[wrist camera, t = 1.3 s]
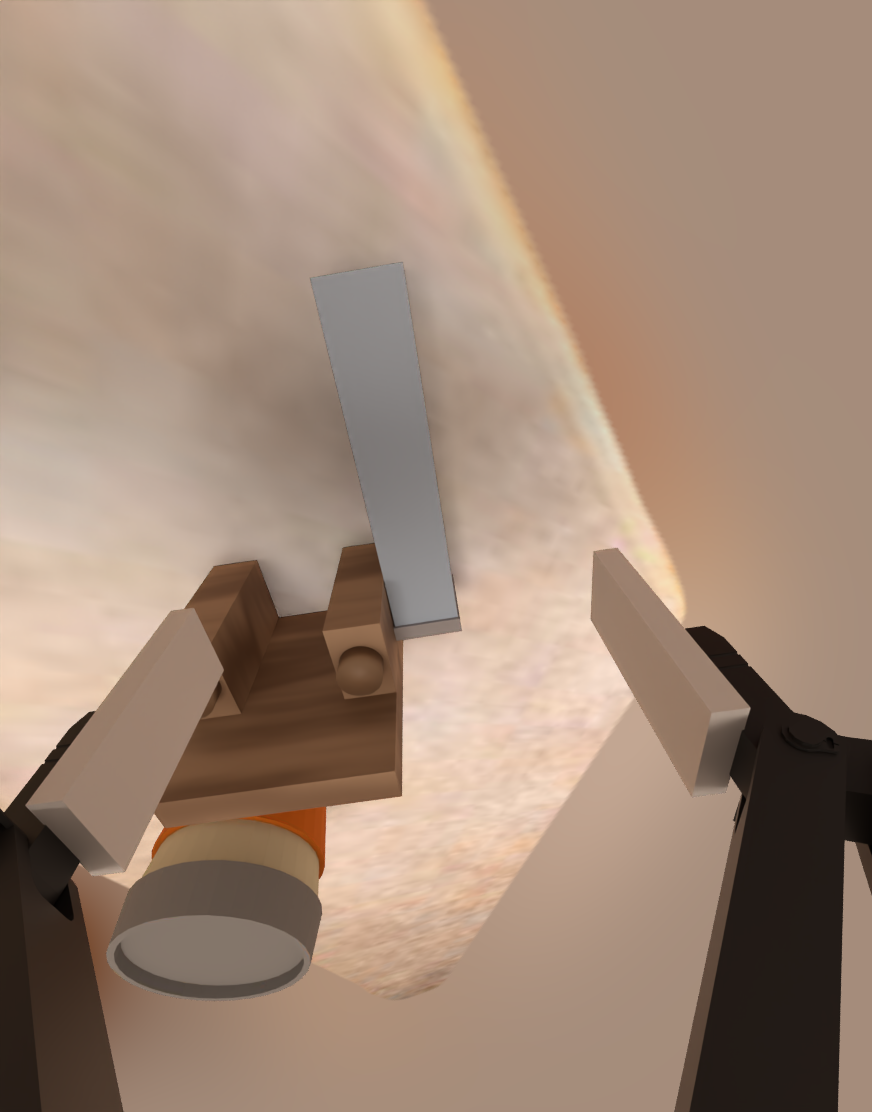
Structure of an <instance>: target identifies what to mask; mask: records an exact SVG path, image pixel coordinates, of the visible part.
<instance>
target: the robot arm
mask: <svg viewBox="0 0 872 1112" xmlns="http://www.w3.org/2000/svg"><path fill="white" fill-rule="evenodd" d="M591 621H592V622H593V624H594V626H595V628H596V629H597V631H598V633H599V635H600V636H601V638H602V640H603V642H604V644H605V645H606V647H607V649H608V651H609V652H610V654H611V656H612V658H613V659H614V661H615V663H616V665H617V666H618V668H619V670H620V672H621V673H622V675H623V677H624V679H625V681H626V682H627V684H628V686H629V688H630V689H631V691H632V693H633V695H634V696H635V698H636V700H637V702H638V703H639V705H640V707H641V709H642V710H643V712H644V714H645V716H646V717H647V719H648V721H649V723H650V725H651V726H652V728H653V730H654V732H655V733H656V735H657V737H658V739H659V740H660V742H661V744H662V746H663V747H664V749H665V751H666V753H667V754H668V756H669V758H670V760H671V762H672V763H673V765H674V767H675V769H676V770H677V772H678V774H679V776H680V777H681V779H682V781H683V783H684V784H685V786H686V788H687V790H688V791H689V793H690V795H691V797H699V796H706V795H714V794H722V793H726V790H727V787H728V783H729V780H730V776H731V777H732V779H733V781H734V782H735V783H736V785H737V786H738V788H739V789H740V791H741V792H742V795H741V798H740V801H739V804H738V807H737V810H736V813H735V817H734V821H735V825H734V830H733V835H732V839H731V844H730V849H729V853H728V858H727V863H726V868H725V872H724V877H723V882H722V887H721V892H720V896H719V901H718V906H717V911H716V915H715V920H714V925H713V930H712V934H711V940H710V944H709V949H708V954H707V958H706V963H705V968H704V973H703V977H702V982H701V987H700V992H699V996H698V1002H697V1006H696V1011H695V1016H694V1020H693V1026H692V1031H691V1035H690V1039H689V1044H688V1049H687V1054H686V1058H685V1063H684V1068H683V1073H682V1078H681V1082H680V1087H679V1092H678V1097H677V1101H676V1106H675V1111H674V1112H838V1083H839V1080H838V1078H839V1042H840V1003H841V1001H840V1000H841V961H842V922H843V883H844V879H843V878H844V842H845V840H847V841H852V842H855V843H856V846H857V849H858V852H859V856H860V859H861V862H862V865H863V869H864V872H865V875H866V878H867V881H868V884H869V888H870V891H871V894H872V740H866V739H858V738H850V737H845V736H840V735H837V734H836V733H835V731H833V730H832V729H831V728H829V727H828V726H826V725H825V724H823V723H822V722H820V721H818V720H816V719H814V718H811V717H809V716H807V715H802V714H798V713H794V712H793V711H792V710H790V708H789V707H788V706H787V705H786V704H785V703H784V702H783V701H782V700H781V699H780V697H779V696H778V695H777V694H776V693H775V692H774V691H773V690H772V689H771V688H770V687H769V686H768V684H767V683H766V682H765V681H764V680H763V679H762V678H761V677H760V676H759V675H758V674H757V673H756V672H755V671H754V669H753V668H752V667H749V666H748V663H747V662H746V661H745V660H744V659H743V658H742V656H741V655H738V654H737V651H736V650H735V649H734V648H733V647H732V646H731V645H730V644H729V643H728V641H727V640H726V639H725V638H724V637H722V636H720V635H719V634H717V633H716V632H714V631H712V630H711V629H709V628H707V627H705V626H700V627H694V628H686V629H684V627H683V626H682V625H681V624H680V623H679V621H678V620H677V619H676V618H675V617H674V615H673V614H672V613H671V612H670V611H669V609H668V608H667V607H666V606H665V605H664V603H663V602H662V601H661V600H660V599H659V597H658V596H657V595H656V594H655V593H654V591H653V590H652V589H651V588H650V587H649V585H648V584H647V583H646V582H645V581H644V579H643V578H642V577H641V576H640V575H639V573H638V572H637V571H636V570H635V569H634V567H633V566H632V565H631V564H630V563H629V561H628V560H627V559H626V558H625V557H624V555H623V554H622V553H621V552H620V551H619V549H618V548H613V549H606V550H599V551H594V552H593V576H592V599H591ZM223 671H224V669H223V667H222V665H221V663H220V661H219V659H218V657H217V655H216V653H215V650H214V648H213V646H212V644H211V642H210V640H209V638H208V636H207V634H206V632H205V630H204V628H203V626H202V624H201V621H200V619H199V617H198V615H197V613H196V611H195V609H194V608H189V609H181V610H174V611H171V612H170V613H169V614H168V616H167V617H166V618H165V620H164V621H163V622H162V624H161V625H160V626H159V628H158V629H157V630H156V632H155V633H154V634H153V636H152V637H151V638H150V640H149V641H148V642H147V644H146V645H145V646H144V648H143V649H142V650H141V652H140V653H139V654H138V656H137V657H136V658H135V660H134V661H133V662H132V664H131V665H130V666H129V668H128V669H127V670H126V672H125V673H124V674H123V676H122V677H121V678H120V680H119V681H118V682H117V684H116V685H115V686H114V688H113V689H112V690H111V692H110V693H109V694H108V696H107V697H106V698H105V700H104V701H103V702H102V704H101V705H100V706H99V708H98V709H97V710H96V711H93V712H89V713H87V714H86V715H85V716H84V717H83V718H81V719H80V720H79V721H78V722H77V723H76V724H74V725H73V726H72V727H71V728H70V729H69V730H68V731H67V733H66V734H65V735H64V736H63V738H62V739H61V740H60V742H59V743H58V744H57V745H56V749H53V751H52V752H51V753H50V754H49V756H48V757H47V758H46V760H45V764H42V765H41V766H40V767H39V769H38V770H37V771H36V772H35V774H34V775H33V776H32V778H31V779H30V780H29V781H28V783H27V784H26V785H25V786H24V788H23V789H22V790H21V792H20V793H19V794H18V795H17V797H16V798H15V799H14V801H13V802H12V803H11V804H10V806H9V807H8V808H7V810H6V811H5V812H3V811H2V810H1V809H0V1112H123V1108H122V1103H121V1098H120V1093H119V1088H118V1083H117V1078H116V1073H115V1069H114V1064H113V1059H112V1054H111V1049H110V1044H109V1039H108V1034H107V1030H106V1025H105V1020H104V1015H103V1010H102V1005H101V1000H100V996H99V991H98V986H97V981H96V976H95V971H94V966H93V962H92V957H91V952H90V947H89V942H88V937H87V932H86V927H85V923H84V918H83V913H82V908H81V903H80V898H79V893H78V888H77V886H76V885H75V883H74V882H73V881H72V880H71V879H70V878H71V876H72V875H73V873H74V871H75V870H76V868H77V866H78V864H79V863H81V865H82V866H83V867H84V868H85V869H86V870H87V871H88V872H89V873H90V874H91V875H92V876H98V875H106V874H114V873H121V872H125V871H126V869H127V867H128V865H129V863H130V861H131V859H132V857H133V855H134V853H135V851H136V849H137V847H138V845H139V843H140V840H141V838H142V836H143V834H144V832H145V830H146V828H147V826H148V824H149V822H150V820H151V818H152V816H153V814H154V812H155V810H156V808H157V806H158V804H159V802H160V800H161V798H162V796H163V793H164V791H165V789H166V787H167V785H168V783H169V781H170V779H171V777H172V775H173V773H174V771H175V769H176V767H177V765H178V763H179V761H180V759H181V757H182V755H183V753H184V751H185V749H186V747H187V744H188V742H189V740H190V738H191V736H192V734H193V732H194V730H195V728H196V726H197V724H198V722H199V720H200V718H201V716H202V714H203V712H204V710H205V708H206V706H207V704H208V702H209V700H210V698H211V695H212V693H213V691H214V689H215V687H216V685H217V683H218V681H219V679H220V677H221V675H222V673H223Z"/></svg>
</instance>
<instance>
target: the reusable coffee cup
mask: <svg viewBox="0 0 872 1112" xmlns="http://www.w3.org/2000/svg"><path fill="white" fill-rule="evenodd" d="M325 834H326V807H319V808H311V809H304V810H297V811H289V812H282V813H274V814H267V815H260V816H252V817H245V818H238V819H230V820H223V821H215V822H208V823H201V824H193V825H186V826H178V827H171V828H165V827H164V829H163V830H162V832H161V834H160V835H159V837H158V839H157V840H156V842H155V844H154V847H153V849H152V861H151V863H150V864H149V866H148V868H147V870H146V871H145V873H144V875H143V877H142V878H141V879H139V880H138V881H136V883H135V884H134V885H133V886H132V887H131V888H130V889H129V891H128V894H127V897H126V899H125V902H124V905H123V908H122V910H121V913H120V916H119V919H118V921H117V924H116V927H115V930H114V933H113V936H112V938H111V941H110V944H109V947H108V949H107V953H106V954H107V962H108V963H109V965H110V967H111V969H112V970H113V971H114V972H115V973H117V974H118V975H119V976H120V977H121V978H122V979H124V980H126V981H127V982H129V983H131V984H132V985H135V986H137V987H140V988H142V989H145V990H147V991H151V992H154V993H157V994H161V995H165V996H171V997H176V998H181V999H190V1000H202V1001H227V1000H240V999H248V998H254V997H259V996H264V995H268V994H271V993H274V992H277V991H281V990H283V989H285V988H287V987H289V986H291V985H293V984H295V983H296V982H297V981H299V980H300V979H301V978H302V977H303V976H304V975H305V974H306V973H307V971H308V969H309V966H310V964H311V960H312V955H313V951H314V946H315V942H316V938H317V933H318V929H319V924H320V920H321V916H322V906H321V903H320V900H319V898H318V883H319V879H320V877H321V876H322V874H323V871H324V868H325Z"/></svg>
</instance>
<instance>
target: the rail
mask: <svg viewBox="0 0 872 1112" xmlns="http://www.w3.org/2000/svg"><path fill="white" fill-rule="evenodd" d="M310 280H311V284H312V288H313V293H314V297H315V301H316V305H317V309H318V313H319V317H320V321H321V325H322V329H323V333H324V338H325V342H326V346H327V350H328V354H329V358H330V362H331V366H332V370H333V374H334V378H335V383H336V387H337V391H338V395H339V399H340V403H341V407H342V411H343V415H344V419H345V423H346V428H347V432H348V436H349V440H350V444H351V448H352V452H353V456H354V460H355V464H356V468H357V473H358V477H359V481H360V485H361V489H362V493H363V497H364V501H365V505H366V509H367V513H368V518H369V522H370V526H371V530H372V534H373V538H374V542H375V546H376V550H377V554H378V558H379V563H380V567H381V571H382V575H383V579H384V583H385V587H386V591H387V595H388V599H389V603H390V608H391V612H392V616H393V620H394V633H395V637H396V641H399V640H406V639H412V638H419V637H426V636H432V635H439V634H445V633H452V632H458V631H462V629H461V622H460V616H459V610H458V604H457V598H456V592H455V586H454V580H453V574H452V575H451V569H450V562H449V556H448V549H447V543H446V537H445V530H444V524H443V517H442V511H441V504H440V498H439V492H438V485H437V479H436V472H435V466H434V459H433V453H432V447H431V440H430V434H429V427H428V421H427V414H426V408H425V402H424V395H423V389H422V382H421V376H420V370H419V363H418V357H417V350H416V344H415V337H414V331H413V325H412V318H411V312H410V305H409V299H408V292H407V286H406V280H405V273H404V267H403V262H399V263H393V264H388V265H382V266H376V267H370V268H364V269H359V270H353V271H347V272H341V273H336V274H330V275H324V276H318V277H312V278H310Z"/></svg>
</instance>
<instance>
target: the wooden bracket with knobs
mask: <svg viewBox="0 0 872 1112" xmlns="http://www.w3.org/2000/svg"><path fill="white" fill-rule="evenodd" d="M189 608H194V609H195V611H196V613H197V615H198V617H199V619H200V621H201V624H202V626H203V628H204V630H205V632H206V634H207V636H208V638H209V640H210V642H211V644H212V646H213V648H214V650H215V653H216V655H217V657H218V659H219V661H220V663H221V665H222V667H223V669H224V671H223V673H222V675H221V677H220V679H219V681H218V683H217V685H216V687H215V689H214V691H213V693H212V695H211V698H210V700H209V702H208V704H207V706H206V708H205V710H204V712H203V714H202V716H201V718H200V720H199V722H198V724H197V726H196V728H195V730H194V732H193V734H192V736H191V738H190V740H189V742H188V744H187V747H186V749H185V751H184V753H183V755H182V757H181V759H180V761H179V763H178V765H177V767H176V769H175V771H174V773H173V775H172V777H171V779H170V781H169V783H168V785H167V787H166V789H165V791H164V793H163V796H162V798H161V800H160V802H159V804H158V806H157V808H156V810H155V812H154V814H155V815H156V817H157V818H158V819H159V821H160V822H161V823H162V825H163V826H164V827H165V828H171V827H178V826H186V825H193V824H201V823H208V822H215V821H223V820H230V819H238V818H245V817H252V816H260V815H267V814H274V813H282V812H289V811H297V810H304V809H311V808H319V807H326V806H333V805H341V804H348V803H356V802H363V801H370V800H378V799H385V798H392V797H400V796H402V717H403V640H399V641H396V637H395V633H394V620H393V616H392V612H391V608H390V603H389V599H388V595H387V591H386V587H385V583H384V579H383V575H382V571H381V567H380V563H379V558H378V554H377V550H376V546H375V543H373V544H366V545H359V546H352V547H345V548H343V549H342V553H341V558H340V562H339V566H338V570H337V574H336V578H335V582H334V586H333V590H332V594H331V598H330V603H329V607H328V611H323V612H316V613H309V614H302V615H295V616H288V617H281V618H279V617H278V615H277V612H276V609H275V607H274V604H273V602H272V599H271V596H270V594H269V591H268V588H267V586H266V583H265V581H264V578H263V575H262V573H261V570H260V567H259V565H258V562H257V560H255V561H248V562H241V563H234V564H227V565H221V566H214V567H213V568H212V570H211V571H210V573H209V574H208V576H207V577H206V579H205V580H204V581H203V583H202V584H201V586H200V587H199V589H198V590H197V591H196V593H195V594H194V596H193V597H192V599H191V600H190V601H189V603H188V604H187V606H186V607H185V609H189Z"/></svg>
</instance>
